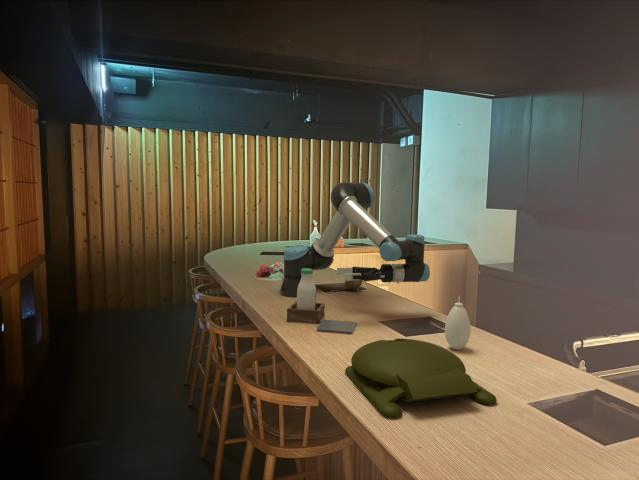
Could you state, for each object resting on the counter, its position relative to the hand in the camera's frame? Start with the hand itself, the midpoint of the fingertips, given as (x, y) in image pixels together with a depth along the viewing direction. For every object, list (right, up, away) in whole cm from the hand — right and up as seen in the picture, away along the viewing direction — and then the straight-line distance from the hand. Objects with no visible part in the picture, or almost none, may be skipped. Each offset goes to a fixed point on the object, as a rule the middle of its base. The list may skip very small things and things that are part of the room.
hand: (340, 273), depth 184 cm
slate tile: (-2, -19, -12) cm, 23 cm away
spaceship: (+16, -26, -59) cm, 67 cm away
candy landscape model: (-34, -8, +85) cm, 92 cm away
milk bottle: (-14, -18, 0) cm, 23 cm away
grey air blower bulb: (+37, -22, -32) cm, 54 cm away
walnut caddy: (-14, -18, 0) cm, 22 cm away
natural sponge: (+9, -13, +52) cm, 54 cm away
